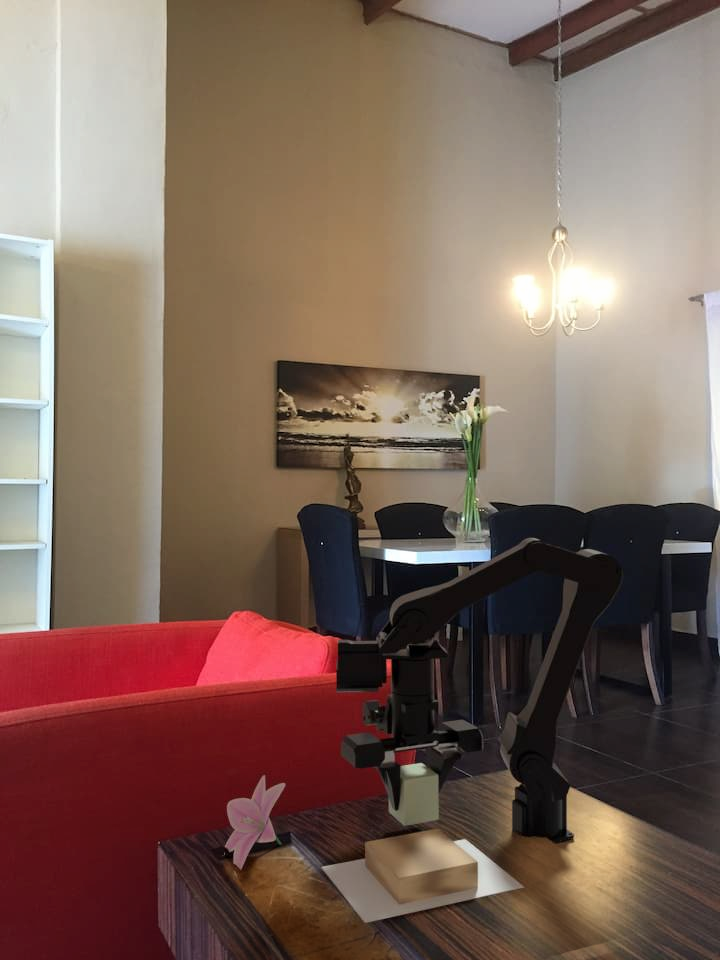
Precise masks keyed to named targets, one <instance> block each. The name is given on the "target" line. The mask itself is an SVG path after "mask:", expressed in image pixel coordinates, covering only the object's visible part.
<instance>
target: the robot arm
mask: <svg viewBox="0 0 720 960" xmlns="http://www.w3.org/2000/svg"><path fill="white" fill-rule="evenodd" d="M537 571H541V572H545V573H548V574H551V575H554V576H557V577H560V578H563V579H564V580H563V581H564V582H563V587H562V609H561V612H560V615H559V618H558V620H557V623H556V626H555V629H554V632H553V634H552V637H551V640H550V642H549V645H548V647H547V650H546V653H545V656H544V658H543V660H542V664H541V666H540V669H539V671H538V673H537V674H538V675H537V677H536V680H535V683H534V686H533V687H532V691H531V693H530V694H529V695H530V696H529V698H528V701H527V704H526V705H525V707H524V708H523V709H522V710H521V711H520V713H519V714H518V715H515V714H514V713H513V712H510V711H509V712H507V715H506V719H505V723H504V728H503V729H502V732H500V734H499V735H498V737H497V739H498V741H499V743H500V746H499V749H500V750H499V752H500V756H501V757H502V759H503V762H504V763H505V765H506V768H507V769H508V771H509V773H510V774H511V776H512V777H513V778H514V779H515V781H516V782H518V783H520V784H519V786H515V787H514V799H512V801H511V829H512V831H514V832H515V833H517V834H518V835H519V836H521V837H522V838H523V837H524V838H526V837H527V838H532V837H536V838H542V839H544V838H546V839H547V840H548V841H550V842H551V843H554V844H555V843H558V842H562V841H567V840H572V839H574V838H575V834H574V832H572V831H570V830H568V829H567V828H568V822H567V821H568V816H567V815H568V813H567V812H568V809H567V808H568V807H567V806H568V805H567V802H568V799H567V798H568V797H567V796H568V794H569V791H570V788H571V784H570V782H569V781H568V779H567V778H566V776H564V774H563V773H562V771H561V770H560V769H559V767H558V766H557V764H556V763H555V758H556V751H557V739H558V721H559V718H560V715H561V712H562V710H563V707H564V704H565V703H566V700H567V696H568V694H569V691H570V688H571V685H572V683H573V680H574V679H575V678H574V677H575V675H576V672H577V669H578V666H579V663H580V661H581V658H582V655H583V653H584V650H585V648H586V645H587V642H588V641H589V637H590V634H591V632H592V629H593V627H594V624H595V622H596V621H597V620H598V618H599V617H600V616H601V615H602V614H603V613H604V611H605V610H606V609H608V607H609V606H610V604H611V603H612V601H614V598H615V596H616V594H617V593H618V591H619V589H620V587H621V586H622V583H623V579H624V570H623V569H622V566H621V564H620V563H619V561H618V560H617V559H616V558H615V557H613V556H612V555H610V554H607V553H605V552H601V551H598V550H596V549H591V548H585V549H581V550H579V551H577V552H575V551H573V550H571V549H570V550H569V549H566V548H563V547H560V546H556V545H553V544H549V543H547V542H546V541H543V540H541V539H538V538H535V537H528V538H525V539H523V540H521V542H520V543H518V544H517V545H515V546H513V547H511V548H509V549H508V550H506V551H504V552H502V553H500V554H498V555H497V556H495V557H492V558H491V559H489V560H487V561H485V562H483V563H481V564H480V565H478V566H476V567H473V568H472V569H470V570H468V571H466V572H464V573H462V574H460V575H459V576H457V577H455V578H453V579H452V580H449V581H447V582H445V583H440V584H438V585H433V586H430V587H424V588H422V589H419V590H416V591H411V592H409V593H406V594H403V595H401V596H400V597H398V598H397V599H395V600H394V602H392V605H391V608H390V611H389V620H388V621H387V622H386V624H385V625H384V626H383V628H382V629H381V630H380V631H379V633H378V635H377V636H376V638H375V640H350V639H338V640H337V660H336V661H335V662H336V664H335V666H336V667H335V668H336V669H335V670H336V671H335V672H336V678H335V679H336V693H365V692H366V693H369V692H373V693H374V692H379V688H383V685H385V684H387V681H388V680H387V678H388V677H387V676H388V673H387V672H388V670H387V668H388V667H387V660H390V685H391V686H390V688H391V689H390V690H391V691H390V692H391V693H390V694H387V698H386V705H380V702H379V700H378V699H377V700H368V701H364V702H362V721H363V724H364V725H365V726H372V725H374V726H375V729H376V732H383V733H384V734H385V735H391V737H387V738H380V739H379V738H377V736H375V735H373V734H372V733H371V732H362V733H352V734H347V735H345V736H344V738H343V740H342V741H341V743H340V756H341V757H342V758H343V759H344V760H346V762H348V763H349V764H350V765H351V766H352V767H354V768H355V769H367V768H368V769H369V768H374V769H375V770H377V772H378V774H379V775H380V778H381V779H382V782H383V785H384V788H385V791H386V793H387V796H388V797H387V798H388V801H389V800H390V803H391V806H392V808H393V809H394V810H395V811H398V808H399V802H400V768H401V766H402V765H401V764H399V763H398V762H396V760H395V754H396V753H401V752H407V751H414V750H415V751H416V750H421V749H425V752H426V756H427V763H428V764H427V767H428V768H429V769H431V770H432V771H434V772H435V773H436V774H438V796H439V795H440V793H441V790H442V789H443V786H444V784H445V782H446V780H447V778H448V776H449V774H450V773H451V771H452V769H453V768H454V766H455V764H456V763H457V762H458V761H459V760H463V754H462V753H461V752H459V751H458V748H459V749H460V750H461V751H462V752H463V753H465V754H466V753H474V752H477V751H478V752H480V751H483V750H484V735H483V732H482V731H481V729H480V728H479V727H477V726H475V725H474V724H471V723H470V722H468V721H466V720H464V719H457V720H449V721H443V722H442V721H441V722H440V725H438V731H437V730H436V729H435V710H439V700H437V699H435V691H434V690H435V672H434V671H435V665H434V664H435V660H438V659H439V660H441V659H442V660H443V659H444V660H445V659H448V658H449V653H448V651H447V650H446V648H445V647H444V646H442V645H441V644H440V643H439V641H438V639H437V638H436V637H433V636H434V635H435V634H436V633H438V632H440V630H442V629H443V628H444V627H445V626H447V624H449V623H450V622H451V620H453V619H454V617H455V616H457V615H459V613H460V612H462V611H463V610H465V609H466V608H468V607H470V606H473V605H475V604H476V603H478V602H479V601H482V600H483V599H485V598H487V597H489V596H491V595H494V594H496V593H497V592H499V591H501V590H503V589H505V588H506V587H508V586H509V585H512V584H513V583H516V582H517V581H520V580H521V579H523V578H525V577H527V576H528V575H531V574H533V573H534V572H537ZM431 637H432V638H431ZM430 638H431V640H430V641H429V642H427V643H424V642H426V641H428V640H429V639H430ZM405 647H406V649H405Z"/></svg>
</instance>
